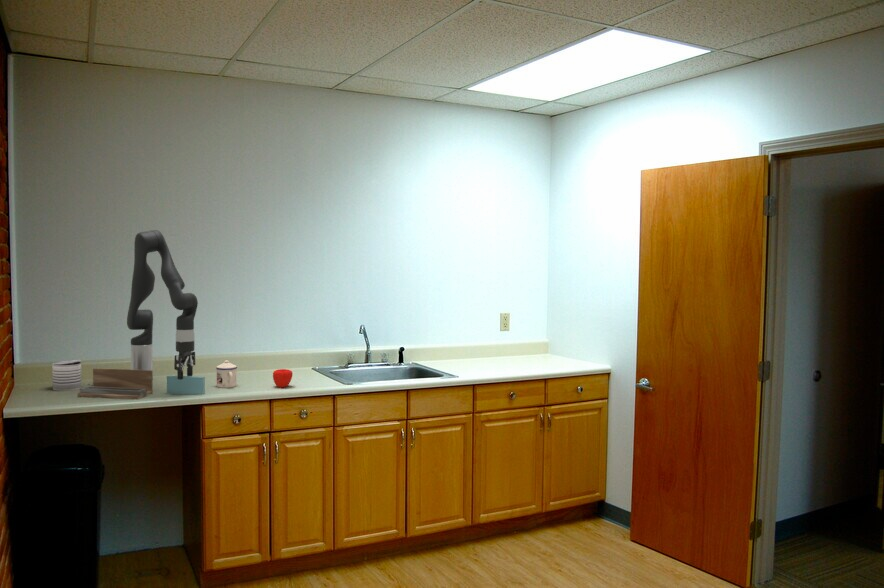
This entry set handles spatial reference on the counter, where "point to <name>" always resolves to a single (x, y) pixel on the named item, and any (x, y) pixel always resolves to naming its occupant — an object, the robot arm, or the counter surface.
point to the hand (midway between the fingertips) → (185, 377)
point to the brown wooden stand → (119, 384)
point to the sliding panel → (186, 385)
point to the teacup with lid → (226, 375)
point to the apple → (282, 377)
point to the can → (66, 375)
